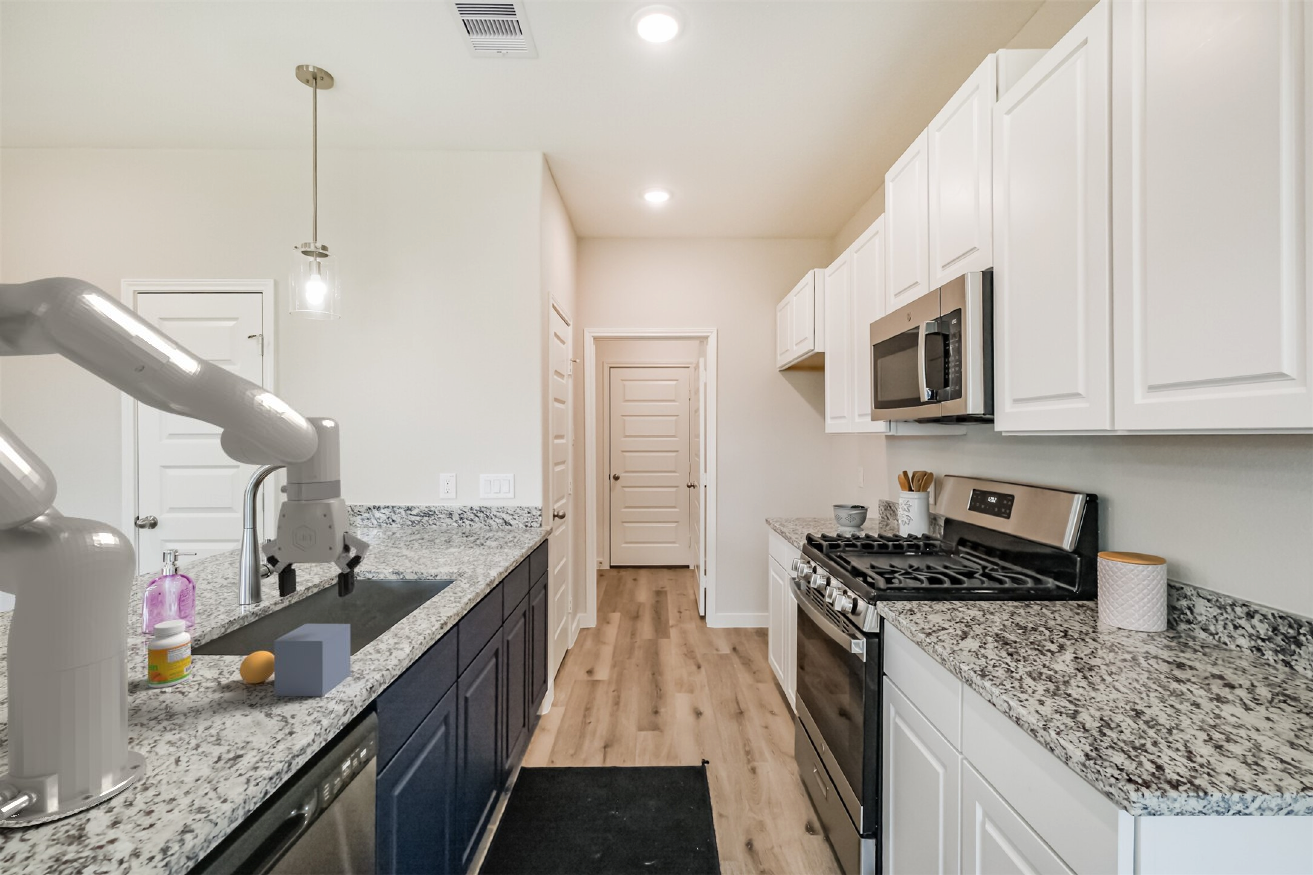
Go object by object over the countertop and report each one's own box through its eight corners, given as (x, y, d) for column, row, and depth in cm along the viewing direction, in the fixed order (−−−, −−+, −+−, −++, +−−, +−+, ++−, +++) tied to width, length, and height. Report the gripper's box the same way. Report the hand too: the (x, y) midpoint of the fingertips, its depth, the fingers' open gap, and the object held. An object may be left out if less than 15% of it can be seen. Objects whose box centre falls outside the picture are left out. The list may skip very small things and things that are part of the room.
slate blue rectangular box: (322, 696, 86) (322, 640, 86) (274, 695, 87) (274, 640, 86) (350, 674, 94) (350, 623, 94) (306, 674, 94) (305, 623, 94)
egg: (262, 688, 89) (262, 658, 89) (231, 688, 89) (231, 657, 89) (283, 675, 94) (283, 646, 94) (254, 674, 94) (254, 645, 94)
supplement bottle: (141, 684, 91) (141, 625, 90) (181, 671, 95) (181, 616, 95) (156, 691, 88) (156, 631, 88) (197, 678, 93) (196, 621, 93)
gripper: (245, 495, 87) (248, 602, 87) (353, 494, 86) (356, 602, 87) (278, 489, 94) (281, 588, 95) (378, 489, 94) (380, 587, 94)
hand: (317, 594), depth 91 cm, fingers open, 9 cm apart
